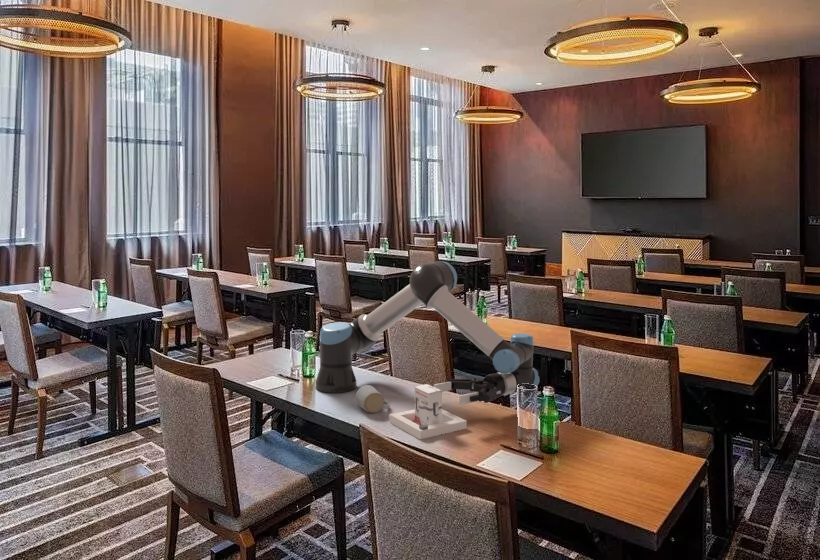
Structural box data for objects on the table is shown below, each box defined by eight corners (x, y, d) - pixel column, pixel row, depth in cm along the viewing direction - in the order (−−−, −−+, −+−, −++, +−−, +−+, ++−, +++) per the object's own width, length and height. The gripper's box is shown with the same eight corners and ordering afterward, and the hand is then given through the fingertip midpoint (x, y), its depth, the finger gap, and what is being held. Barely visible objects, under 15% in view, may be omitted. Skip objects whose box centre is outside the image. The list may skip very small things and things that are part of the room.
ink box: (413, 423, 193) (413, 385, 191) (426, 420, 196) (427, 383, 194) (429, 431, 186) (430, 392, 184) (443, 428, 188) (443, 390, 187)
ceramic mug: (364, 415, 199) (364, 392, 198) (355, 408, 206) (355, 385, 205) (394, 411, 204) (394, 389, 203) (384, 404, 211) (384, 382, 210)
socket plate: (389, 422, 193) (389, 411, 193) (434, 412, 202) (434, 403, 202) (420, 439, 179) (420, 428, 179) (466, 428, 188) (466, 418, 188)
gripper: (524, 405, 194) (471, 417, 183) (475, 386, 215) (424, 395, 204) (525, 382, 193) (471, 392, 182) (475, 364, 214) (424, 373, 203)
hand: (446, 394), depth 193 cm, fingers open, 13 cm apart
